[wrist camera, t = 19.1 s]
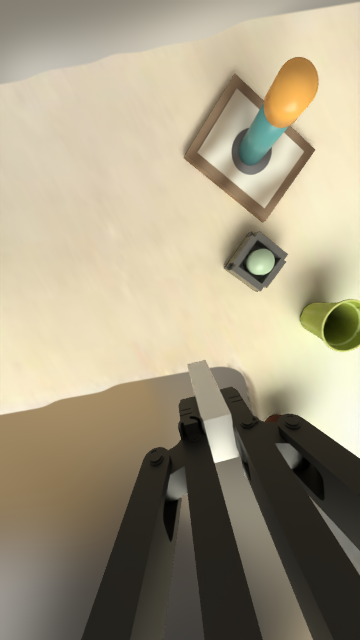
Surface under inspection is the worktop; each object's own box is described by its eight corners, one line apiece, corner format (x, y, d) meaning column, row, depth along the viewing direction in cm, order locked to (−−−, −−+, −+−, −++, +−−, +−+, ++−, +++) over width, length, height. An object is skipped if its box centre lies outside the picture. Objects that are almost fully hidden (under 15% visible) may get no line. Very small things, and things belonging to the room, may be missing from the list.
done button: (239, 265, 40) (245, 265, 37) (253, 245, 39) (260, 243, 36) (257, 279, 41) (264, 279, 38) (271, 259, 40) (279, 258, 37)
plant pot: (326, 286, 43) (364, 289, 35) (341, 324, 46) (380, 335, 37) (285, 308, 44) (313, 317, 36) (302, 345, 46) (332, 361, 38)
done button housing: (224, 268, 41) (229, 268, 38) (248, 233, 40) (256, 229, 37) (255, 291, 43) (263, 293, 39) (279, 257, 42) (290, 256, 38)
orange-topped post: (231, 154, 36) (267, 89, 23) (248, 127, 35) (295, 45, 22) (253, 173, 37) (299, 120, 24) (270, 147, 36) (327, 78, 23)
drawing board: (184, 158, 37) (185, 154, 35) (232, 80, 35) (235, 71, 33) (262, 222, 40) (266, 220, 38) (310, 153, 38) (316, 148, 36)
